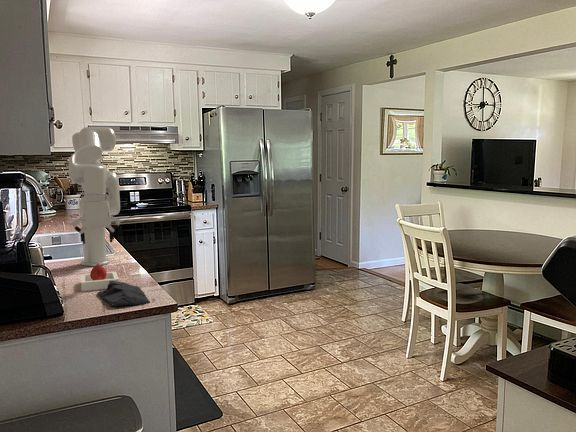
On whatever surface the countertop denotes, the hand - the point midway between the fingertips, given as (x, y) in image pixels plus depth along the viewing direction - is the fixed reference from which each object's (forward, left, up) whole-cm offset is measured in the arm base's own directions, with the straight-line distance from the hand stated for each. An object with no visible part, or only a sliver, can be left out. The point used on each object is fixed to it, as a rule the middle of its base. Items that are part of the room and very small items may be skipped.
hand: (97, 242), depth 177 cm
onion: (0, 0, -16) cm, 16 cm away
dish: (0, 0, -17) cm, 17 cm away
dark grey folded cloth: (+22, +7, -17) cm, 29 cm away
